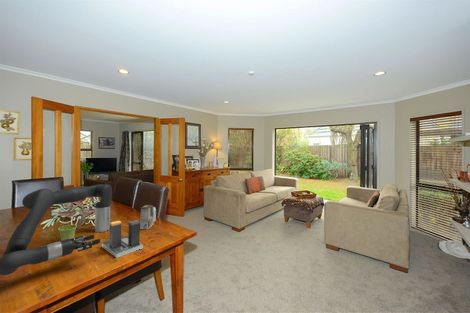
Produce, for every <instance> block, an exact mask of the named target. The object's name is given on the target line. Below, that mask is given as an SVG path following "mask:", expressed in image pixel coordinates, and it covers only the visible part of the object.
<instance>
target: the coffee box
mask: <svg viewBox="0 0 470 313" xmlns="http://www.w3.org/2000/svg"><path fill="white" fill-rule="evenodd" d="M153 207H154V204H145V205H143V206H142V207H140V218H139V219H140V220H139V221H140V230H150V228H151V227H152V225H153V226H154V222H153Z"/></svg>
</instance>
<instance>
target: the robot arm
mask: <svg viewBox="0 0 470 313" xmlns="http://www.w3.org/2000/svg"><path fill="white" fill-rule="evenodd" d="M112 195H113V188H112V185H110V184H100V183H99V184H94V185H90V186H72V187H68V188H67V187H66V188H62V189H59V190H55V191H53V190H52V189H49V188H45V187H44V188H40V189H37V190H34V191H31V192H29V193H27V194H26V195H25V196H24V197H23V198H22V200H21V201H22V205H23V206H24V208H26V209H28V210H30V211H29V212H28V213H27V215H26V216H25V217H24V218H23V219H22V221H20V223H19V224H18V225H17V226H16V228H15V229H14V231H13V233H12V234H11V236H10V238H9V241H8V243H7V245H6V249H5V250H4V253H3V255H2V256H1V257H0V276H7V275H11V274H13V273H15V272H16V271H17V270H18V269H19V268H20V267H23V266H27V265H32V266H33V265H38V264H41V263H44V262H47V261H52V260H56V259H60V258H61V257H66V256H68V255H71V254H72V253H73V252H74V250H75V251H76V250H77V252H83V251H86V250H90V249H92V248H93V246H95V245H98V244H100V243H101V239H100V238H98V239H95V235H94V234H90V235H87V236H85V235H79V236H76V237H75V236H74V238H72V239H66V240H62V241H61V240H59V241H56V242H52V243H49V244H46V245H42V246H38V247H35V248H30V249H29V248H28V246H29V245H30V243H31V241H32V238H33V236H34V235H35V232H36V229H37V228H38V226H39V224H40V223H41V221H42V219H43V217H44V216H45V215H46V214H45V213H47V212H48V209H49V208H50V207H51V206H54V205H63V204H70V203H77V202H81V201H84V200H86V199H87V198H93V197H94V198H100V200H99V201H97V202H96V203H95V205H94V208H95V209H94V210H95V212H94V232H96V233H103V232H104V233H105V232H107V230H108V231H110V223H111V204H112V198H113V196H112ZM90 240H91V241H90ZM27 248H28V249H27Z"/></svg>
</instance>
